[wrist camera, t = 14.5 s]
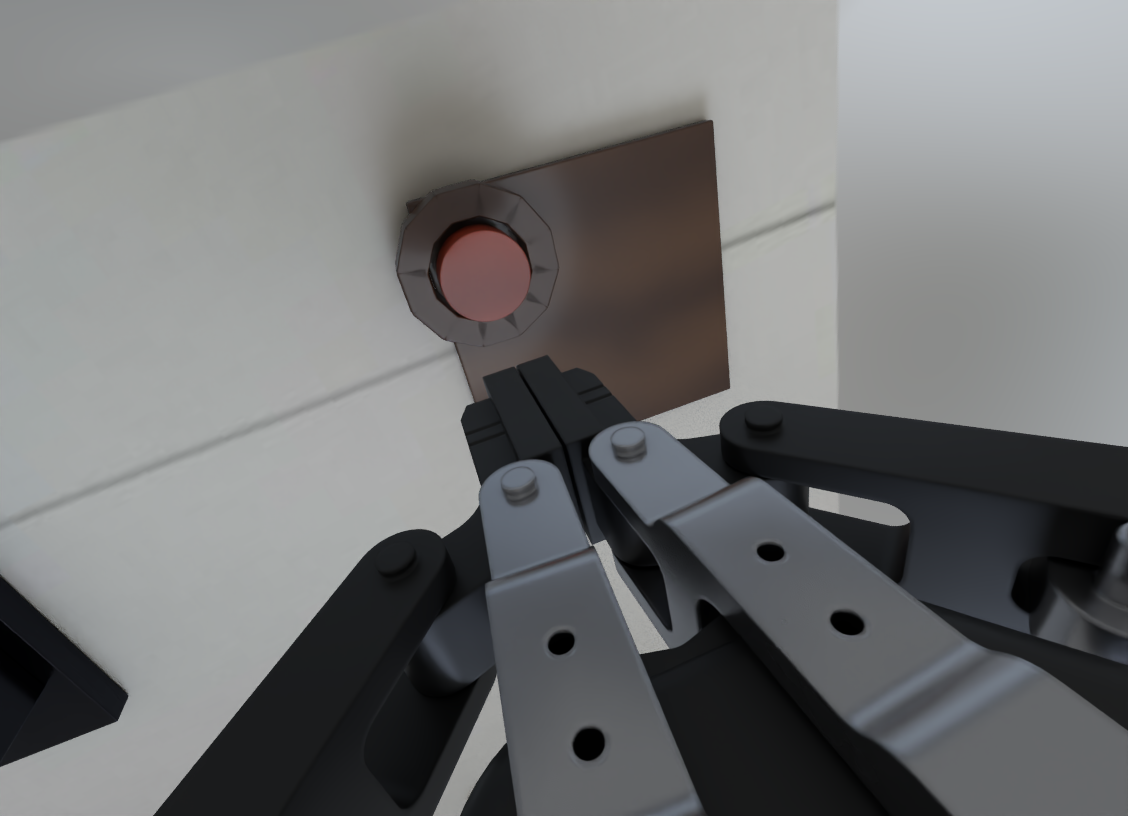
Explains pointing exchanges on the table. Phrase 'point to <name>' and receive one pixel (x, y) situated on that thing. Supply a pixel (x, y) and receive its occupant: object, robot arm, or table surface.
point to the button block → (593, 269)
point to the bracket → (46, 684)
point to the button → (483, 272)
